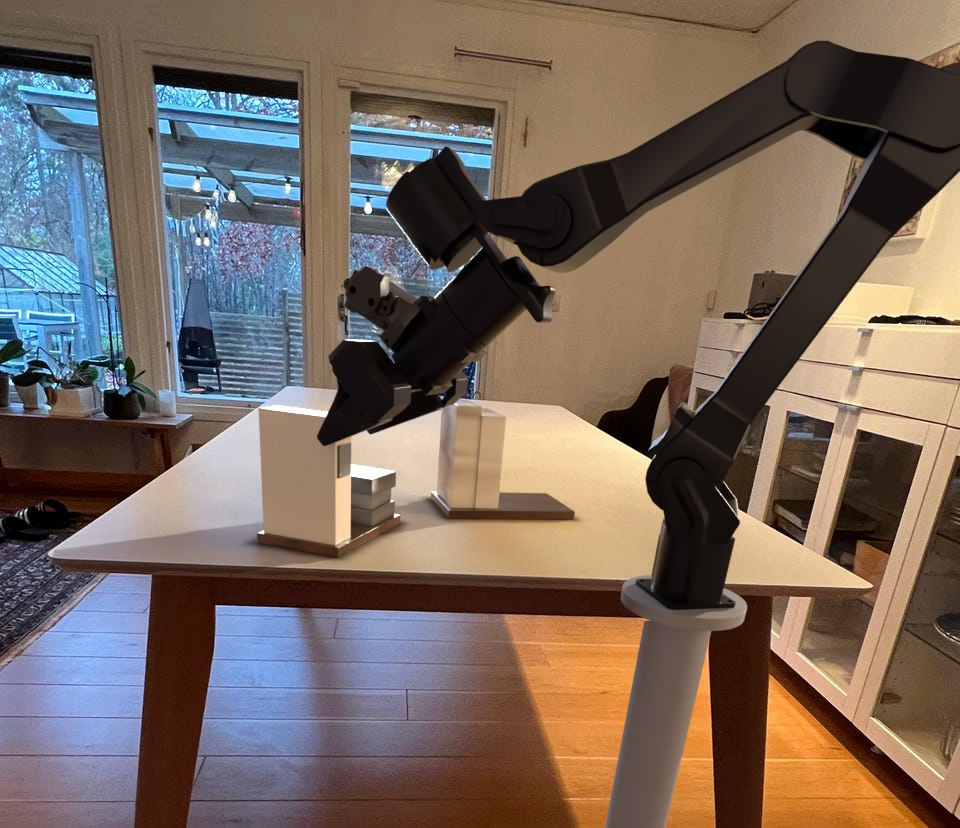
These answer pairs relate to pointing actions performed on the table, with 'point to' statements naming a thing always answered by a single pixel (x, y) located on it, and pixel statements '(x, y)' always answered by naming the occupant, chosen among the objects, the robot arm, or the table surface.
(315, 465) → the white book
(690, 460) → the robot arm
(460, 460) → the brown and white bookend
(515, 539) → the table surface
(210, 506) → the table surface
